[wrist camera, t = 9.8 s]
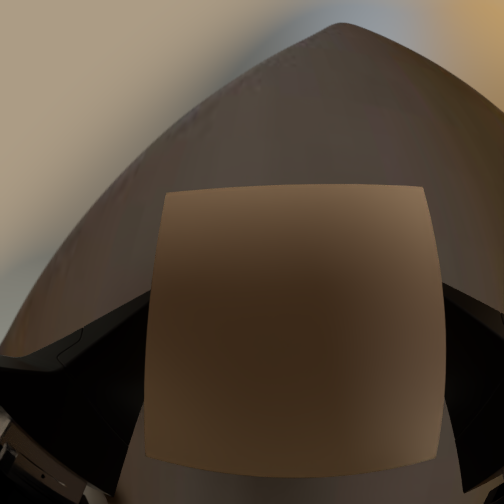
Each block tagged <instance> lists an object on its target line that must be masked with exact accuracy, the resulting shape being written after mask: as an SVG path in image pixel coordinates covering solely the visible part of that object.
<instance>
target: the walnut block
mask: <svg viewBox="0 0 504 504" xmlns="http://www.w3.org/2000/svg"><path fill="white" fill-rule="evenodd" d="M445 375H446V329H445V311H444V299H443V289H442V280H441V272H440V265H439V259H438V253H437V247H436V242H435V236H434V231H433V227H432V222H431V218H430V213H429V209H428V205H427V201H426V197H425V194H424V190H423V187H415V186H395V185H362V184H303V185H269V186H248V187H231V188H216V189H203V190H191V191H181V192H171V193H166V197H165V202H164V207H163V212H162V218H161V224H160V229H159V235H158V242H157V248H156V255H155V262H154V269H153V277H152V285H151V294H150V303H149V314H148V325H147V339H146V356H145V381H144V430H145V454H146V456H147V457H150V458H154V459H157V460H161V461H165V462H169V463H173V464H177V465H182V466H186V467H191V468H196V469H202V470H207V471H213V472H220V473H227V474H235V475H245V476H257V477H274V478H316V477H334V476H345V475H355V474H363V473H370V472H376V471H382V470H388V469H393V468H398V467H402V466H407V465H411V464H415V463H419V462H423V461H427V460H430V459H434V458H436V453H437V448H438V442H439V436H440V429H441V422H442V414H443V405H444V393H445Z"/></svg>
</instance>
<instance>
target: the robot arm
mask: <svg viewBox="0 0 504 504" xmlns="http://www.w3.org/2000/svg"><path fill="white" fill-rule="evenodd" d="M442 289H443V299H444V311H445V329H446V375H445V393H444V397H445V401H446V404H447V408H448V412H449V416H450V420H451V424H452V428H453V433H454V437H455V439H456V440H455V443H456V448H457V453H458V459H459V465H460V471H461V479H462V487H463V492H464V493H467V492H469V491H471V490H473V489H475V488H477V487H479V486H481V485H483V484H485V483H487V482H489V481H490V480H492V479H494V478H496V477H498V476H499V475H501V474H502V475H503V479H504V314H503V313H501V314H500V312H499V311H497V310H495V309H493V308H491V307H490V306H488V305H486V304H484V303H482V302H480V301H478V300H476V299H474V298H472V297H471V296H469V295H467V294H465V293H463V292H461V291H459V290H457V289H455V288H453V287H451V286H449V285H447V284H445V283H443V282H442ZM150 294H151V290H150V291H148V292H146V293H144V294H142V295H140V296H139V297H137V298H135V299H133V300H131V301H129V302H128V303H126V304H124V305H122V306H120V307H118V308H117V309H115V310H113V311H111V312H109V313H108V314H106V315H104V316H102V317H100V318H99V319H97V320H95V321H93V322H91V323H90V324H88V325H86V326H84V328H81V329H79V330H77V331H75V332H73V333H72V334H70V335H68V336H66V337H64V338H62V339H60V340H58V341H56V342H54V343H52V344H50V345H48V346H46V347H44V348H42V349H40V350H38V351H36V352H33V353H31V354H29V355H27V356H24V357H8V356H3V355H0V504H89V503H88V500H87V498H86V496H85V495H84V494H83V492H84V490H85V488H86V485H87V486H89V487H91V488H93V489H95V490H98V491H100V492H102V493H104V494H107V495H109V496H111V497H113V496H114V494H115V491H116V487H117V484H118V480H119V477H120V473H121V470H122V467H123V463H124V460H125V457H126V454H127V450H128V447H129V446H128V445H129V443H130V440H131V437H132V434H133V431H134V428H135V425H136V422H137V419H138V416H139V413H140V410H141V407H142V404H143V401H144V381H145V356H146V339H147V325H148V314H149V303H150ZM484 504H504V483H502V484H501V485H499V486H498V487H496V488H494V489H493V490H491V491H490V492H489V494H488V496H487V498H486V500H485V502H484Z"/></svg>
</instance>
